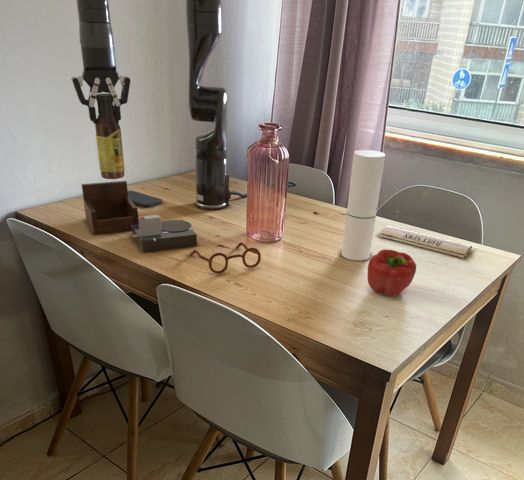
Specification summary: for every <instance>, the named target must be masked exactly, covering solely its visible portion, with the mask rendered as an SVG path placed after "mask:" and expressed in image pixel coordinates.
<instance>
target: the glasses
mask: <svg viewBox="0 0 524 480" xmlns="http://www.w3.org/2000/svg"><path fill="white" fill-rule="evenodd" d="M241 246H242V247H243V248H244V249H245V250H244V251H243V252H242V254H240V253H238V254H232V255H229V256H227V255H226V254H225V253H223V252H215V253H213V254H211V256H210V257H209V258H208V257H206V256H204V255H202V254H201V253H200V252H199V251H198V250H197V249H194V250H193V251H191V252H190V253H189V256H190V257H192V256H193V255H195V254H196V255H197V256H198V258H200V259H201V260H204V261H206V262H207V263H208V267H209V270H210V271H211V272H212V273H214V274H217V275H218V274H219V275H220V274H223V273H224V272H226V270H227V269H228V266H229V260H231V259H236V258H241V259H242V264H243V266H244V267H245V268H248V269H254V268H256V267H257V266H258V265H259V264H260V262H261V259H262V255H261V251H260V250H259V249H258V248H256V247H248V246H247V245H246V244H245V243H244V242H242V241H240V242H239V243H238V244H237V245H236V246H235V250H238V249H239V248H240V247H241ZM248 252H250V253H253V254H255V255H257V261H256V262H255V263H254V264H252V265H250V264H248V263H247V262H246V255H247V254H248ZM218 256H221V257H223V258H224V261H225V263H224V267H223V268H222V269H221V270H215V269H214V268H213V265H212V262H213V260H214V259H215V258H216V257H218Z"/></svg>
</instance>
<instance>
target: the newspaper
mask: <svg viewBox="0 0 524 480" xmlns="http://www.w3.org/2000/svg"><path fill="white" fill-rule="evenodd" d="M378 237H381V238H384V239H389V240H393V241H396V242H400V243H404V244H407V245H412V246H415V247H420V248H423V249H426V250H431V251H435V252H439V253H443V254H447V255H451V256H454V257H459V258H464V257H466V256H467V255H468V254H469V253H470V252H471V250H472V248H473V245H471V244H466V243H461V242H458V241H453V240H450V239H445V238H441V237H437V236H434V235H428V234H426V233H425V234H424V233H422V232H421V233H420V232H416V231H412V230H408V229H404V228H400V227H396V226H393V225H386V226H384V227H383V228H382V229H381V231H380V234H378Z"/></svg>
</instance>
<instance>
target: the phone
mask: <svg viewBox="0 0 524 480" xmlns="http://www.w3.org/2000/svg"><path fill="white" fill-rule="evenodd" d="M127 191H128V197H129V198H130V199H131V201H132V202H133V203H134V204H135V205H136V206H140V207H143V208H149V207H152V206H156V205H159V204H162V203H163V199H162V198H159V197H155V196H151V195H149V194H145V193H141V192H138V191H134V190H127Z"/></svg>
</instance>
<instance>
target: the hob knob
mask: <svg viewBox="0 0 524 480" xmlns="http://www.w3.org/2000/svg"><path fill="white" fill-rule="evenodd" d="M138 222H139V232H140V235H141V237H145V236H153V235H161V224H160V222H161V217H160V215H159V214H153V215H138Z"/></svg>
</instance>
